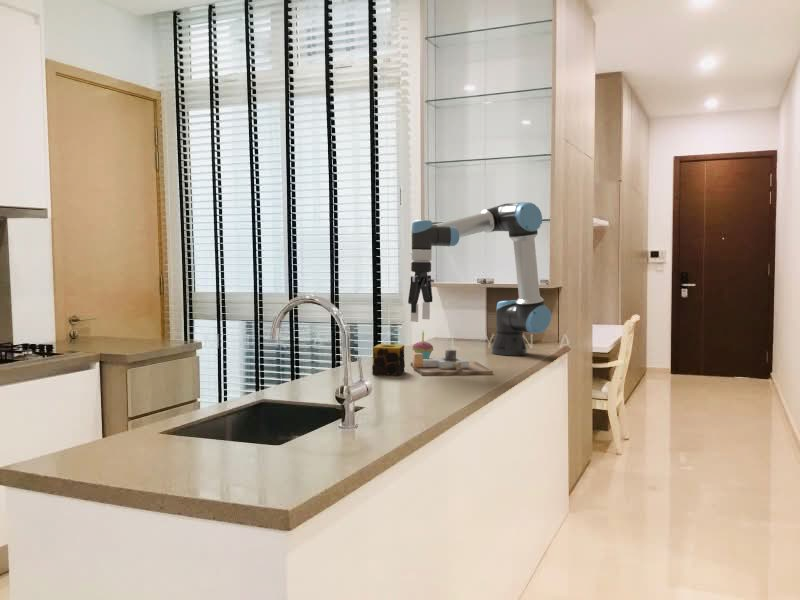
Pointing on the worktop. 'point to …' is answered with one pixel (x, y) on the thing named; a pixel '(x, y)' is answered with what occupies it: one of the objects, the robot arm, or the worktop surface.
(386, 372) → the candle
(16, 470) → the worktop surface
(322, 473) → the worktop surface
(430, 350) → the cupcake
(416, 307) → the robot arm
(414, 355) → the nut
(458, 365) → the dowel
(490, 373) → the base board
